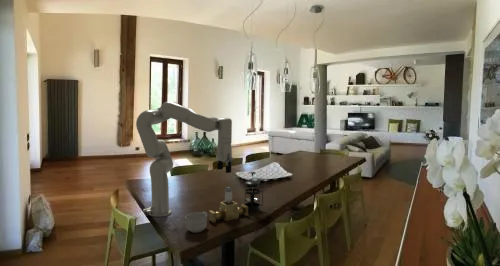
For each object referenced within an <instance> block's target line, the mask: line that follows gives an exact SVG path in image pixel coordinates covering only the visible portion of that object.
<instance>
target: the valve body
mask: <svg viewBox="0 0 500 266" xmlns="http://www.w3.org/2000/svg"><path fill="white" fill-rule="evenodd" d="M238 204H239V203H238V202H236V201H233V200H232V204H230V205H226V204H225V200H223V201H220V202H219V208H218V211H216V212H215V211H213V210H212V209H211V210H208V221H210V222H212V223H213V224H215V223H216V222H217V220H223V221H225V222H229V221H233V220H238V219H239V218H240V217H239V216H240V215H243V216H245V217H247V216H249V212H248V206H246V205H245V203H244V204H243V203H242V204H240V207H239V205H238Z"/></svg>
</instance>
